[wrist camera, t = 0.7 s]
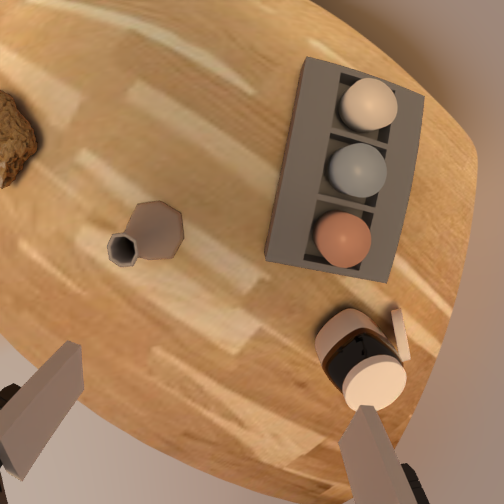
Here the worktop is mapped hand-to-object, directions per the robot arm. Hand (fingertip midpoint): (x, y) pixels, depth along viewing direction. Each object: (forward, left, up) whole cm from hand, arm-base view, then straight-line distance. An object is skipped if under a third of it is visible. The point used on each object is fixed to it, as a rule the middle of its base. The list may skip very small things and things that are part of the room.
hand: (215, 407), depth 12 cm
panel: (-13, +10, -25) cm, 29 cm away
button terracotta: (-6, +10, -22) cm, 25 cm away
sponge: (-12, -40, -25) cm, 48 cm away
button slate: (-13, +10, -22) cm, 27 cm away
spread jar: (+6, +18, -25) cm, 31 cm away
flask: (-2, -10, -25) cm, 27 cm away
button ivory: (-20, +10, -22) cm, 31 cm away
